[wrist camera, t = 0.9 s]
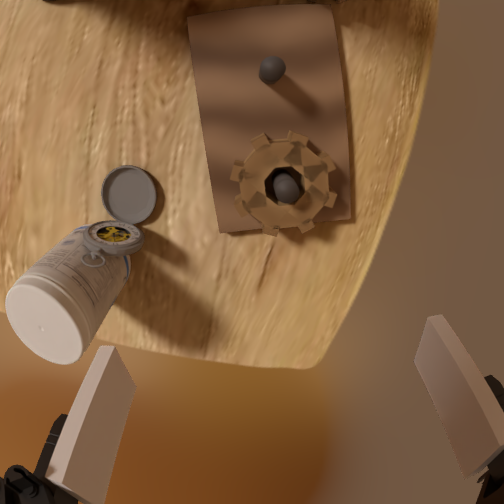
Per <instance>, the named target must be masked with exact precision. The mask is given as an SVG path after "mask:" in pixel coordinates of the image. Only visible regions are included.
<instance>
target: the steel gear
mask: <svg viewBox="0 0 504 504" xmlns="http://www.w3.org/2000/svg"><path fill="white" fill-rule="evenodd" d="M307 1H311V2H314V3H315V2H316V0H307ZM344 1H347V0H336V2H337V3H341V2H344Z"/></svg>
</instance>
